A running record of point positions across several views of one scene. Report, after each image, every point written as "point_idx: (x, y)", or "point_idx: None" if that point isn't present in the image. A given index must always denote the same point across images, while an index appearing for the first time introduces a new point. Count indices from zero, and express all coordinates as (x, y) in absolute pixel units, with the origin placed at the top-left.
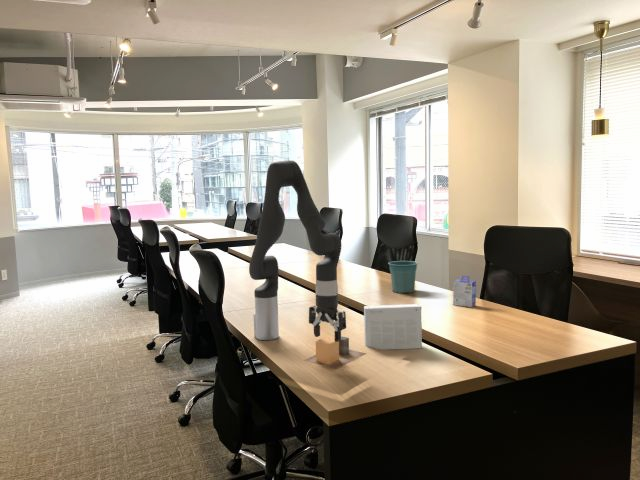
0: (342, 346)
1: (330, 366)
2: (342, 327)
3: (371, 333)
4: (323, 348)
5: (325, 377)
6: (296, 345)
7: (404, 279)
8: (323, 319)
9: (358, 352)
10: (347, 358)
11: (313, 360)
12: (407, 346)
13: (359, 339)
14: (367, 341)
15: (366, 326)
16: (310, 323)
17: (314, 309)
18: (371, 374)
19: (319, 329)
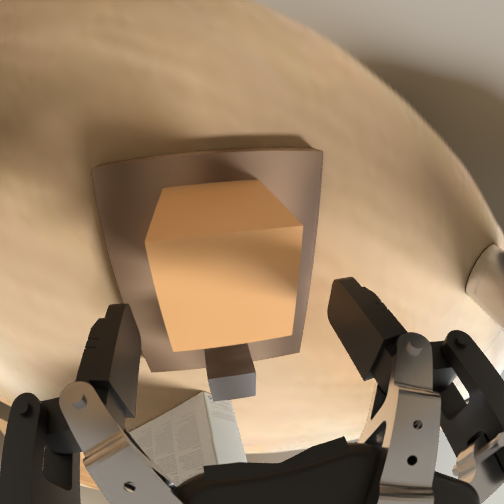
0: (213, 349)
1: (136, 170)
2: (14, 423)
3: (198, 445)
4: (207, 214)
5: (104, 88)
6: (420, 283)
7: None
8: (319, 477)
9: (179, 364)
10: (157, 303)
11: (277, 177)
12: (133, 434)
13: (279, 412)
14: (204, 417)
15: (215, 463)
16: (450, 334)
17: (489, 476)
18: (15, 259)
19: (351, 348)
